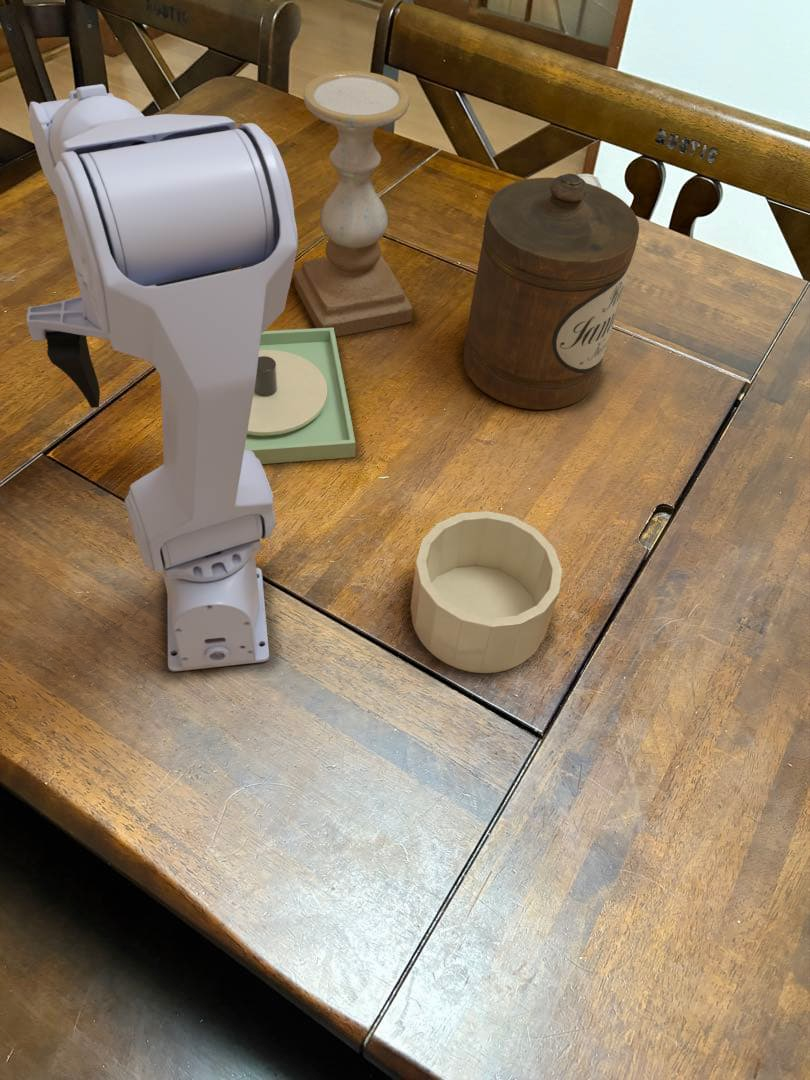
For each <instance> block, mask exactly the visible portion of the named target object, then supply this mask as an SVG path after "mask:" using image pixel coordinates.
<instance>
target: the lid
mask: <svg viewBox="0 0 810 1080" xmlns="http://www.w3.org/2000/svg"><path fill="white" fill-rule="evenodd" d="M327 395H328V389H327V383H326V380H325V378H324V376H323V374H322V373H321V371H320V370H319V369H318V368H317V367H316V366H315V365H314V364H312V363H311V362H309V361H308V360H306V359H304V358H302V357H300V356H298V355H295V354H292V353H288V352H283V351H277V350H259V357H258V365H257V374H256V382H255V389H254V395H253V401H252V407H251V413H250V419H249V425H248V431H247V434H250V435H261V436H265V435H278V434H283V433H287V432H291V431H294V430H296V429H299V428H301V427H303V426H305V425H306V424H308V423H310V422H311V421H312V420H314V419H315V418H316V417H317V416H318V415H319V414H320V412H321V411H322V410H323V408H324V406H325V404H326V401H327Z"/></svg>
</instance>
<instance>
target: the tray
mask: <svg viewBox="0 0 810 1080" xmlns="http://www.w3.org/2000/svg"><path fill="white" fill-rule="evenodd" d="M259 350H277V351H283V352H288V353H292V354H295V355H298V356H300V357H302V358H304V359H306V360H308V361H309V362H311V363H312V364H314V365H315V366H316V367H317V368H318V369H319V370H320V371H321V373H322V374H323V376H324V378H325V380H326V383H327V389H328V395H327V401H326V404H325V406H324V408H323V410H322V411H321V412H320V414H319V415H318V416H317V417H316V418H315V419H314V420H312V421H311V422H310V423H308V424H306V425H305V426H303V427H301V428H299V429H296V430H294V431H291V432H287V433H283V434H278V435H265V436H261V435H250V434H247V437H246V443H245V449H244V450H250V451H253V452H254V454H255V456H256V458H258V459H259V460H260V462H261V465H268V464H269V465H270V464H282V463H293V462H294V463H295V462H306V461H307V462H308V461H309V462H310V461H322V460H335V459H336V460H337V459H348V458H350V459H351V458H355V457H356V448H357V447H356V445H357V444H356V437H355V432H354V427H353V422H352V416H351V411H350V406H349V401H348V396H347V395H348V394H347V390H346V384H345V380H344V375H343V370H342V364H341V358H340V354H339V348H338V342H337V338H336V337H335V332H334V328H316V327H315V328H299V329H281V330H280V329H278V330H265V331H264V332H263V333H262V334H261V339H260V348H259Z"/></svg>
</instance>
